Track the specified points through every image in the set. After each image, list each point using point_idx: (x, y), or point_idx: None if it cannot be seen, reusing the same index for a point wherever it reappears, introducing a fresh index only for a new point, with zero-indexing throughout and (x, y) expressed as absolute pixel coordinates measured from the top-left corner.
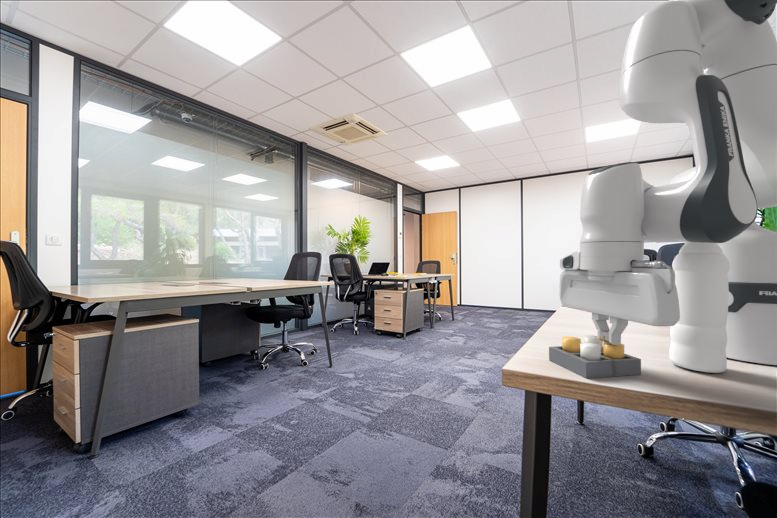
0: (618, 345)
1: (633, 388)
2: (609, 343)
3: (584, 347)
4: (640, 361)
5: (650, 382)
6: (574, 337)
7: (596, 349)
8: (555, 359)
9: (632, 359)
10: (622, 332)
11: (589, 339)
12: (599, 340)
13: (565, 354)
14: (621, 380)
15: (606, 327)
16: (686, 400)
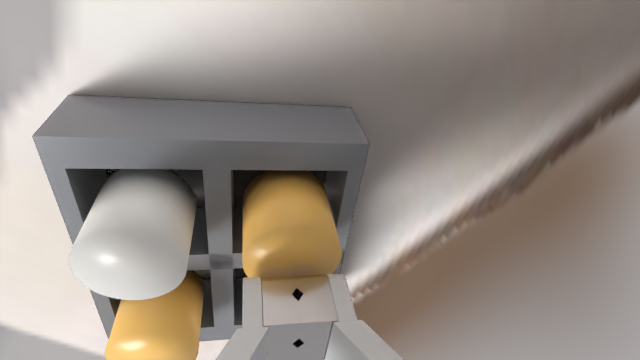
0: (325, 260)
1: (420, 228)
2: (281, 272)
3: None
4: (365, 140)
5: (417, 146)
6: (129, 337)
7: None
8: None
9: (359, 185)
10: (369, 327)
11: (162, 291)
12: (187, 259)
13: (222, 337)
14: (365, 215)
15: (257, 353)
16: (534, 171)
